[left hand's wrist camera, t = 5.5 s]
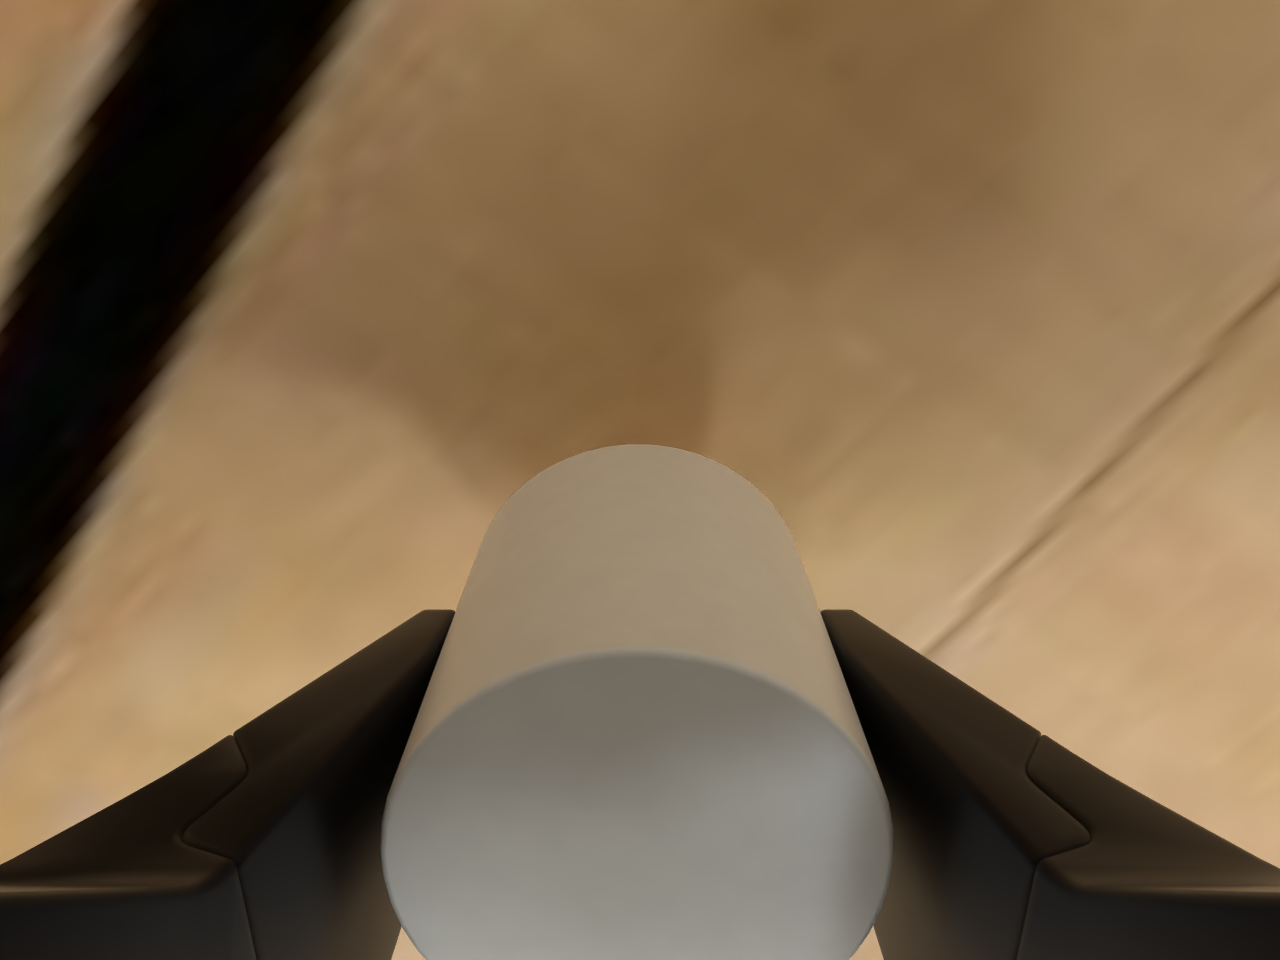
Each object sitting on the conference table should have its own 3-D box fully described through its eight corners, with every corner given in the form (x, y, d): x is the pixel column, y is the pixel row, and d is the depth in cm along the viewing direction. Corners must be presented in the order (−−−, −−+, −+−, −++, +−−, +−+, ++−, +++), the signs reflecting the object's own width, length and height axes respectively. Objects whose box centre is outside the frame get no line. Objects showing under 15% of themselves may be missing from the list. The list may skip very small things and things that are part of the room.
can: (872, 586, 12) (1004, 856, 8) (649, 784, 13) (654, 1114, 9) (624, 370, 11) (615, 541, 7) (406, 608, 12) (275, 885, 8)
